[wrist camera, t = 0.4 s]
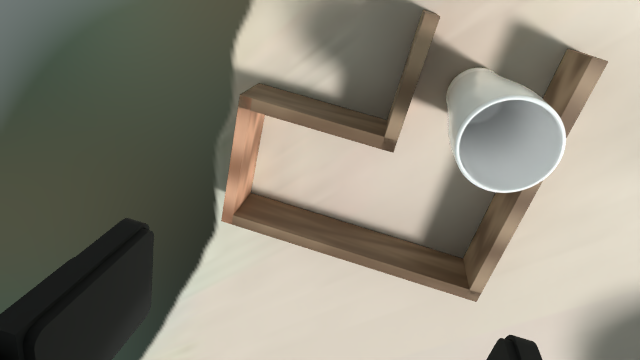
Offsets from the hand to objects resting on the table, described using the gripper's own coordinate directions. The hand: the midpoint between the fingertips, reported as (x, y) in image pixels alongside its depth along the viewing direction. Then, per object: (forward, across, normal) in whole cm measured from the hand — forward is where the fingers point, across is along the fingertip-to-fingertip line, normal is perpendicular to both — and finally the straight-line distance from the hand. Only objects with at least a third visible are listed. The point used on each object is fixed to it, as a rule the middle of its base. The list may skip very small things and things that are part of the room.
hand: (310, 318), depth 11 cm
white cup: (+33, -9, -1) cm, 35 cm away
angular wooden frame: (+33, -2, +5) cm, 34 cm away
